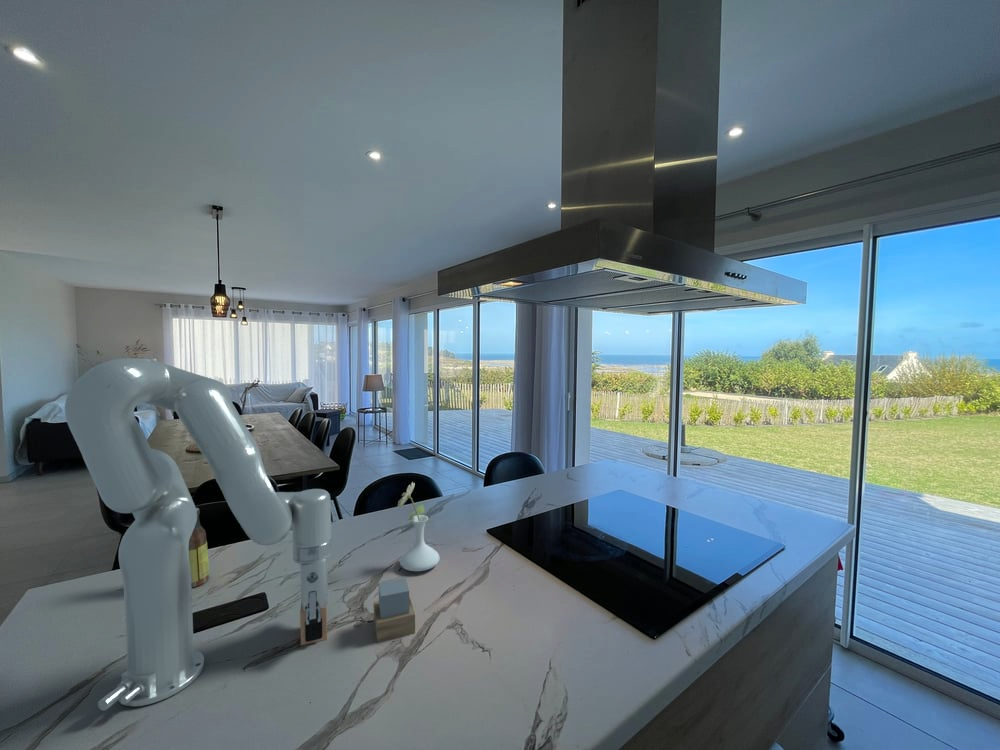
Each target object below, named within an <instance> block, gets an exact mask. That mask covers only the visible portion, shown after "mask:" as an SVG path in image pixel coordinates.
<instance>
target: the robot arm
mask: <svg viewBox="0 0 1000 750" xmlns="http://www.w3.org/2000/svg"><path fill="white" fill-rule="evenodd" d="M233 403H234V402H233V394H232V392H231V390H230V388H229V387H228V386H227V385H226V384H225V383H223V382H222V381H220V380H217V379H214V378H211V377H207V376H203V375H200V374H198V373H194V372H190V371H188V370H185V369H182V368H179V367H176V366H172V365H169V364H167V363H164V362H161V361H157V360H154V359H150V358H145V357H144V358H141V357H139V358H138V357H137V358H135V357H134V358H133V357H124V358H123V357H122V358H114V359H111V360H108V361H107V360H106V361H104V362H102V363H99V364H98V365H96V366H94V367H92V368H90V369H89V370H87V371H86V372H85V373H83V374H82V375H81V376H80V377H79V378H78V379H77V380H76V381H75V382H74V383H73V385H72V386H71V387H70V389H69V391H68V393H67V395H66V399H65V403H64V414H65V419H66V423H67V425H68V429H69V430H70V432H71V434H72V436H73V437H72V438H73V439H74V441H75V442H76V445H77V446H78V450H79V451H80V453H81V456H82V459H83V461H84V463H85V466H86V468H87V470H88V471H89V474H90V477H91V478H92V480H93V483H94V485H95V487H96V489H97V491H98V495H99V497H100V498H101V500H102V502H103V503H104V504H105V506H106V507H108V508H109V509H110V510H112V511H113V512H117V513H119V514H132V515H133V518H134V519H135V520H133V522H132V524H131V525H130V526H129V527H128V528H127V529H126V531H125V533H124V534H123V536H122V538H121V541H120V543H119V547H118V562H119V570H120V574H121V578H122V585H123V597H124V614H125V615H124V616H125V636H126V637H125V638H126V639H125V641H126V661H127V663H126V664H127V669H126V670H125V671H124V672H123V673H121V676H120V677H121V678H120V679H121V681H120V682H119V683H118V684H117V686H116V688H114V689H113V690H112V691H110V692H108V693H107V694H106V695H105V696H104V697H102V698H101V699H100V700H99V701H98V702H97V707H98V708H99V709H100V711H104V712H105V711H107V710H108V709H109V708H111V707H112V706H113V705H115V704H116V703H117V702H118V703H119V704H120V705H122V706H127V707H143V706H147V705H148V706H149V705H151V704H154V703H158V702H160V701H164V700H166V699H168V698H170V697H171V696H173V695H176V694H177V693H180V692H181V691H182V690H184V689H185V688H186V687H187V686H189V685H190V684H191V683H193V682H194V681H195V680H196V679H197V678H198V677H199V676H200V674H201V673H202V671H203V670H204V667H205V657H204V655H203V653H201V652H200V651H199V650H195V649H194V648H195V647H194V623H193V622H194V619H193V595H192V594H193V592H192V588H191V569H190V561H189V540H190V537H191V535H192V532H193V530H194V528H195V525H196V522H197V511H196V508H197V507H196V505H195V502H194V500H193V498H192V495H191V493H190V491H189V488H188V486H187V485H186V482H185V480H184V477H183V475H182V472H181V470H180V468H179V466H178V464H177V462H176V461H175V460H174V459H173V458H172V457H171V456H170V454H167V453H166V452H164V451H162V450H158V449H153V448H151V446H150V444H149V442H148V440H147V437H146V434H145V431H144V430H143V427H142V426H141V425H140V422H138V420H137V419H136V416H135V408H136V407H137V406H139V405H141V404H148V405H149V406H150V405H151V406H153V407H156V408H157V407H158V408H161V409H165V410H168V411H171V412H174V413H175V412H176V414H177V416H178V418H179V420H180V421H181V423H182V424H183V426H184V428H185V430H187V432H188V434H189V436H190V437H191V438H192V441H193V442H194V444H195V445H196V447H197V448H198V450H199V451H200V453H201V454H202V456H203V457H204V459H205V460H206V462H207V465H208V466H209V467H210V469H211V471H212V473H213V475H214V476H213V477H214V479H215V481H216V483H217V484H218V487H219V488H220V491H221V492H222V494H223V497H224V499H225V501H226V503H227V505H228V507H229V508H230V510H231V512H232V514H233V515H234V517H235V519H236V520H237V522H238V523H239V524H240V525H239V526H241V528H242V530H243V531H244V533H245V534H246V536H247V537H248V538H249V539H250V540H251V541H252V542H253V543H256V544H257V545H258V546H259V545H260V546H263V547H265V546H267V547H268V546H269V547H270V546H274V545H276V544H279V543H281V541H283V540H284V539H285V538H286V537H287V536H288V535H289V533H290V531H291V529H292V560H293V562H294V563H295V564H299V584H300V586H299V587H300V597H301V598H300V599H301V601H302V610H303V611H306V622H305V639H306V642H309V641H313V640H317V639H321V638H322V619H321V611H320V608H321V607H326V608H327V607H328V602H329V601H328V600H329V598H328V597H329V596H328V595H329V593H328V592H329V587H328V584H329V582H328V579H329V578H328V576H329V575H328V558H329V557H330V556H331V555H332V554H333V553H332V552H333V551H332V550H333V549H332V512H331V509H332V508H331V507H332V506H331V504H332V502H331V494H330V493H329V492H328V491H327V490H325V489H322V488H312V489H311V488H310V489H305V490H301V491H296V492H295V491H289V492H288V491H287V492H286V491H277V492H276V491H275V489H274V487H273V485H272V483H271V481H270V478H269V477H268V475H267V474H268V473H267V472H266V469H265V466H264V464H263V463H264V462H263V458H262V454H261V451H260V448H259V446H258V444H257V443H258V442H257V441H256V440H255V439H254V436H253V435H252V433H251V432H250V431H249V429H248V427H247V425H246V424H245V422H244V421H243V418H242V417H241V415H240V413H239V412H238V410H237V408H236V407H235V405H234V404H233ZM301 601H300V602H301ZM316 603H318V605H316ZM308 605H309V607H308ZM317 609H318V614H317V613H316V610H317Z"/></svg>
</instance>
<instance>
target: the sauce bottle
mask: <svg viewBox="0 0 1000 750" xmlns="http://www.w3.org/2000/svg"><path fill="white" fill-rule="evenodd" d="M195 508H196V511H197V522H196V525H195V528H194V530H193V532H192V535H191V537H190V540H189V561H190V569H191V588H197V587H200V586H202V585H204V584H206V583H207V582H208V581H209V579H210V575H209V574H210V563H209V554H208V553H209V552H208V551H209V550H208V541H207V533H206V530H205V528H204V527H203V526H202V525H201V522H200V513H201V511H200V508H198V507H195Z"/></svg>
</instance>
